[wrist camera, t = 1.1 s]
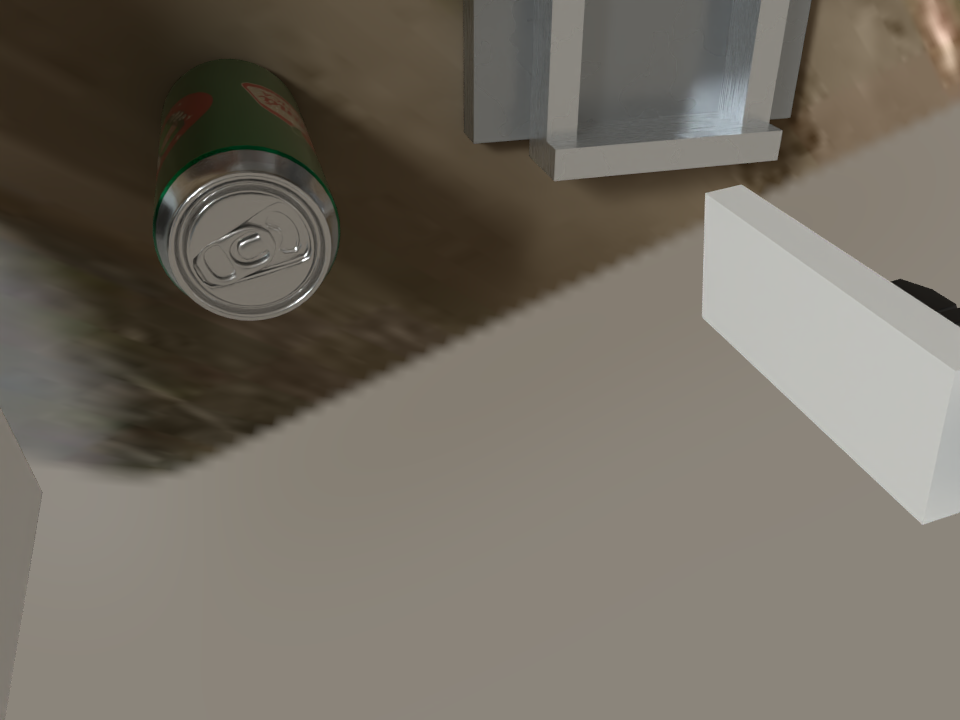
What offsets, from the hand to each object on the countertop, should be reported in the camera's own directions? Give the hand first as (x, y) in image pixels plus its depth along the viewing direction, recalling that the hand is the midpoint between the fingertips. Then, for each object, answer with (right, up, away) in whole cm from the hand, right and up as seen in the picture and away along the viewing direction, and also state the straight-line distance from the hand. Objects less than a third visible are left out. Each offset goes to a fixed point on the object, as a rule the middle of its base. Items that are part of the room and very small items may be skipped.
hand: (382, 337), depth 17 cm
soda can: (-8, +9, +18) cm, 21 cm away
